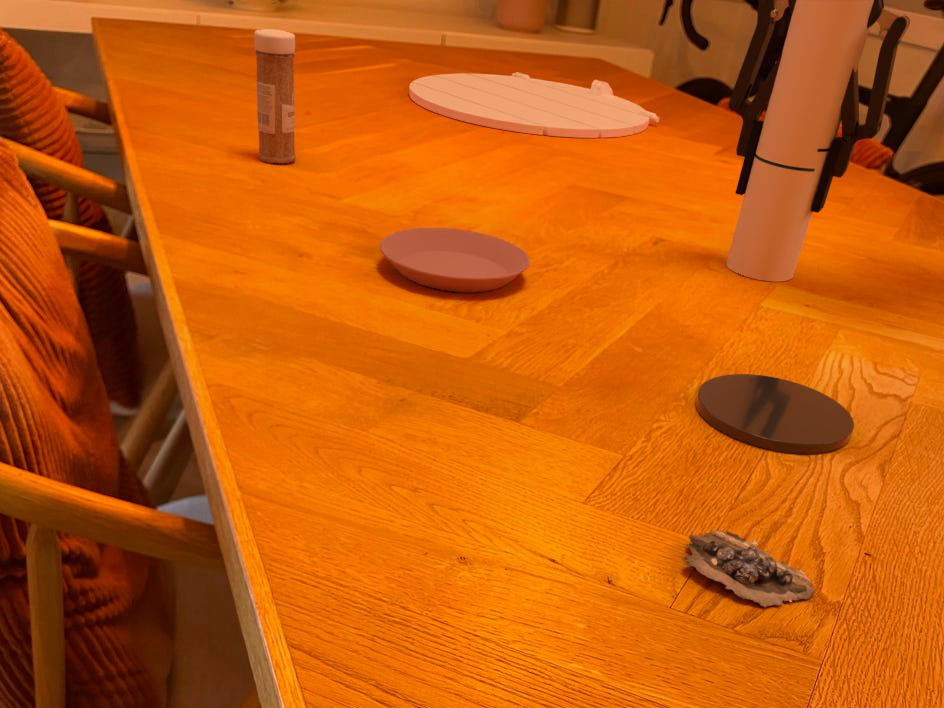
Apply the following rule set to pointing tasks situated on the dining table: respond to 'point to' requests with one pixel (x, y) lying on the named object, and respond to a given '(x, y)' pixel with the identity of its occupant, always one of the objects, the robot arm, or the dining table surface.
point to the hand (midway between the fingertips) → (779, 200)
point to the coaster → (774, 413)
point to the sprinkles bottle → (275, 95)
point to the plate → (454, 258)
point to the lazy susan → (531, 105)
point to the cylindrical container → (797, 135)
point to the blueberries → (747, 569)
